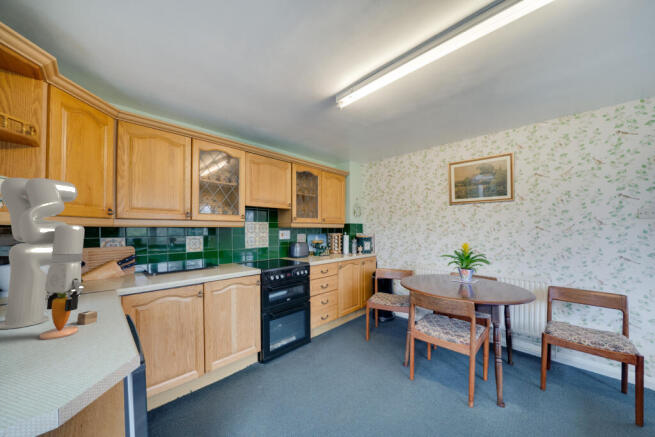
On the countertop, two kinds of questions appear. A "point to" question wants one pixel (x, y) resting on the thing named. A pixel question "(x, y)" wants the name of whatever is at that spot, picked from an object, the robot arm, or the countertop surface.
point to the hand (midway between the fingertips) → (62, 309)
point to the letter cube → (87, 317)
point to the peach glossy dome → (58, 333)
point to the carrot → (60, 311)
